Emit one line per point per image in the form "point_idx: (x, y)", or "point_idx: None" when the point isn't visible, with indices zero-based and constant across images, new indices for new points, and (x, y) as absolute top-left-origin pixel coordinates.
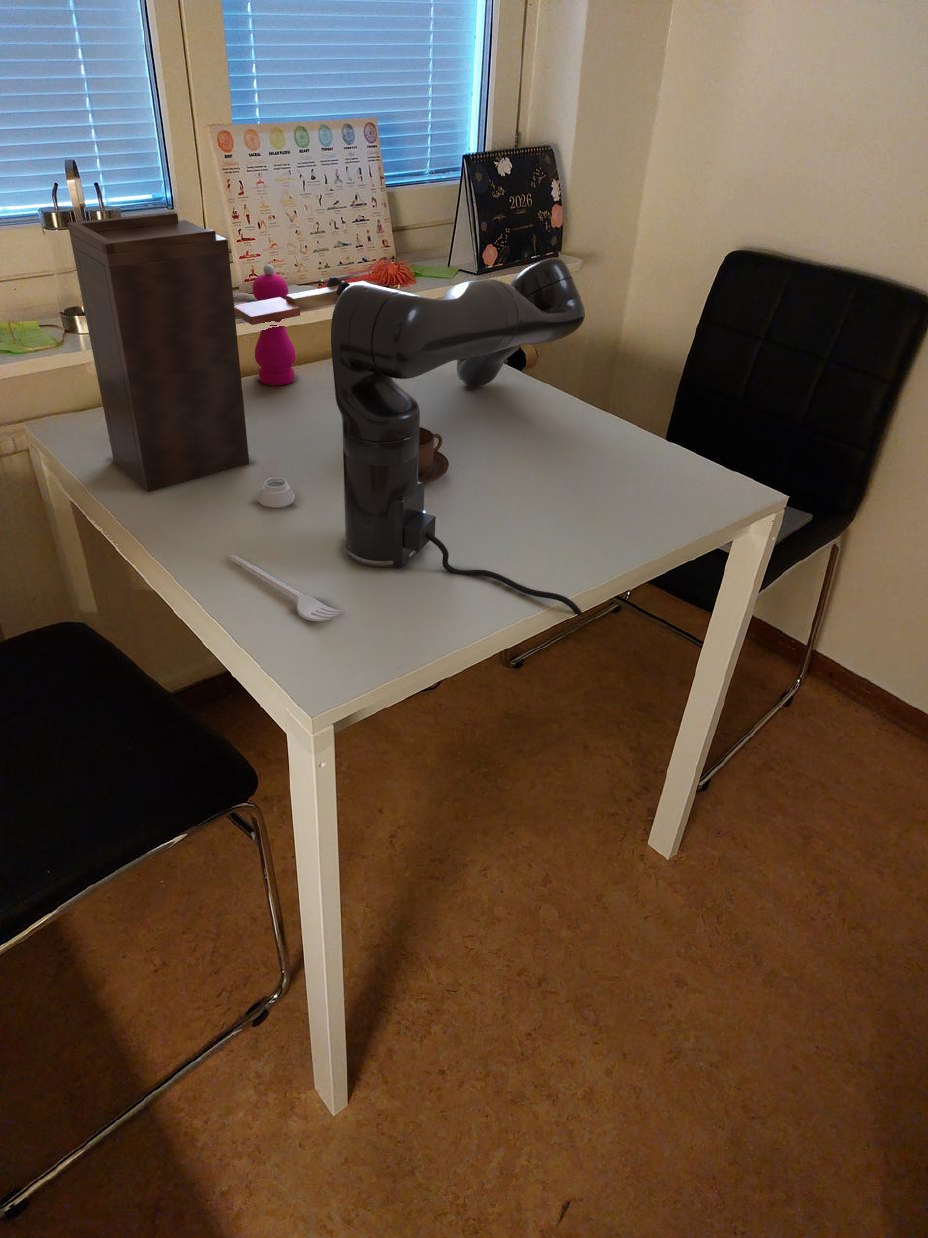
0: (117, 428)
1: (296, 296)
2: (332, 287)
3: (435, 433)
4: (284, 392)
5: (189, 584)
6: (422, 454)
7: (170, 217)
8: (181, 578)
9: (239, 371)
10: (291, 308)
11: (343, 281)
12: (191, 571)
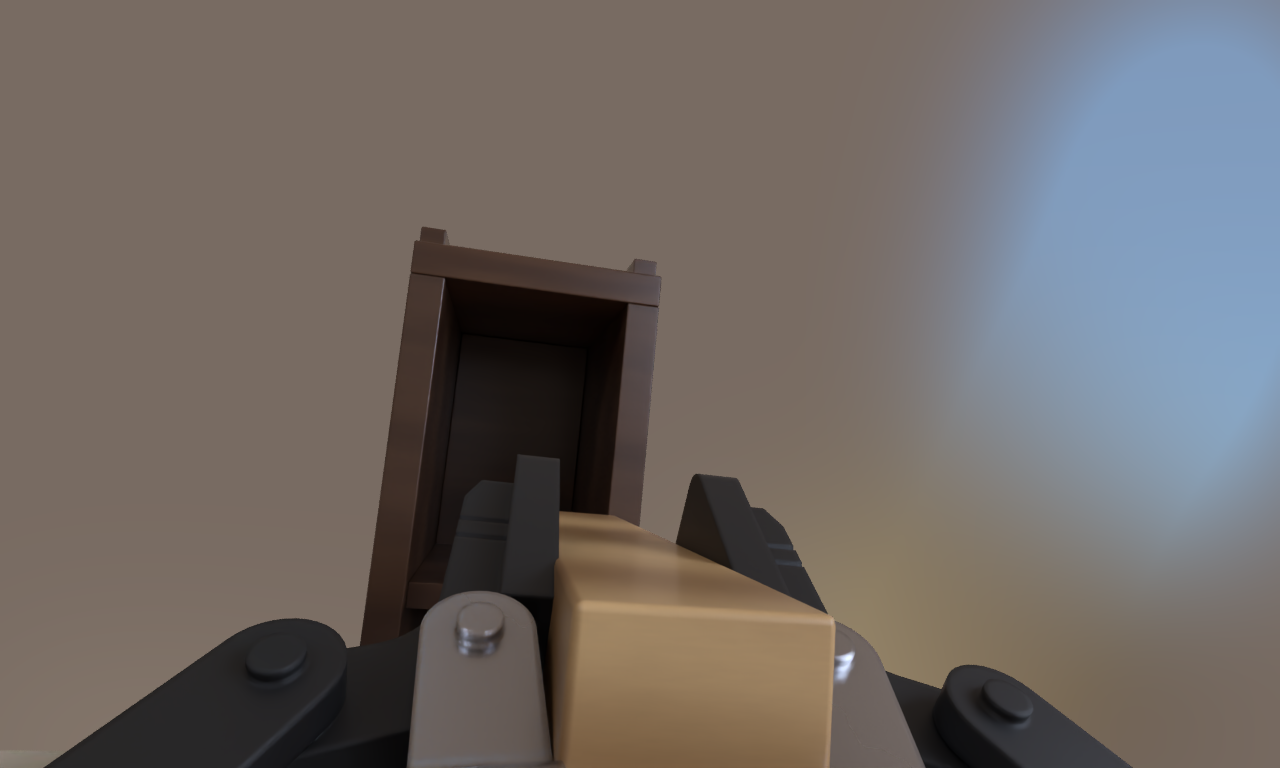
0: None
1: (561, 513)
2: (645, 542)
3: None
4: None
5: (2, 754)
6: None
7: (630, 271)
8: (34, 753)
9: (363, 626)
10: None
11: (539, 458)
12: (30, 765)
